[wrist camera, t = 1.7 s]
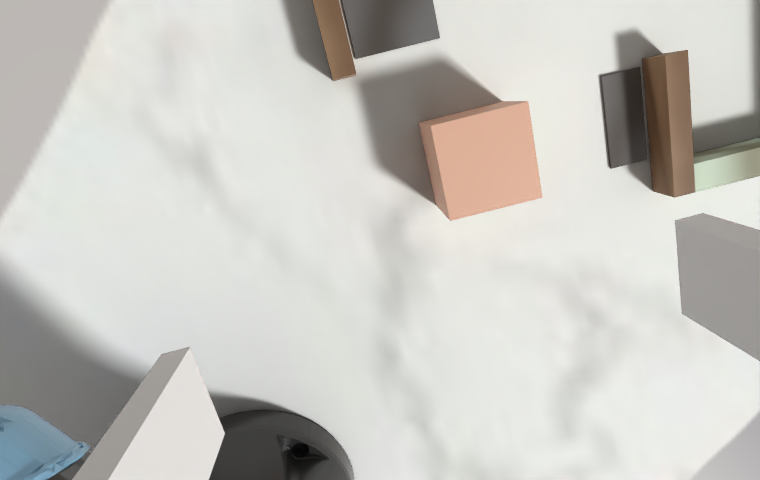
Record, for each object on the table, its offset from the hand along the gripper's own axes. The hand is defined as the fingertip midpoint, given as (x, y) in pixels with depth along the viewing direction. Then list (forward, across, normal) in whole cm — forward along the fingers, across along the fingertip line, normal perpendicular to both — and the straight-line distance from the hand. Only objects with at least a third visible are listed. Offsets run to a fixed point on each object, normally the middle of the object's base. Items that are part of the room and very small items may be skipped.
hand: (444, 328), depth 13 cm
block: (+23, +7, +1) cm, 24 cm away
